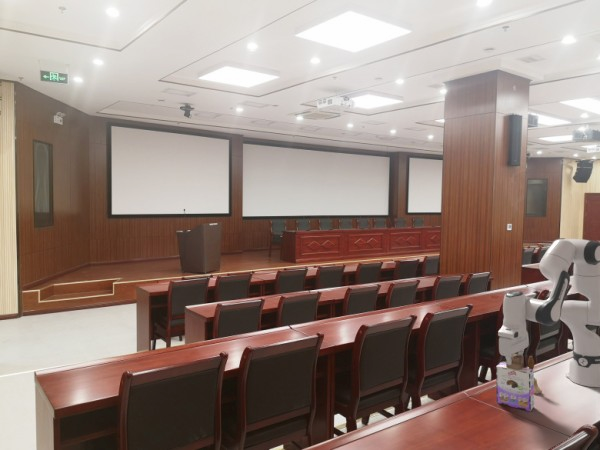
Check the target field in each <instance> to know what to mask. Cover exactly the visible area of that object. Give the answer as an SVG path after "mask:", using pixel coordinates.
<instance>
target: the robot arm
mask: <svg viewBox="0 0 600 450" xmlns="http://www.w3.org/2000/svg"><path fill="white" fill-rule="evenodd" d="M572 263H573V273H572V274H573V275H572V276H573V289H574V291H576V292H577V293H578V294H580V295H582V296H584V297H585V298H587V299H588V301H586V300H576V299H575V300H574V299H572V300H571V299H570V300H566V299H565V298H566V295H567V292H568V289H569V287H570V282H571V276H570V273H569V272H568V271H569V268H570V267H571V265H572ZM538 268H539V271H540V273H541V275H543V276H544V277H545V278H546V279H547V280H548V281H550V282H552V283H553V286H552V289H551V292H550V294H549V296H548V298H547V299H545V300H543V299H538V298H534V297H530V296H527V294H525V293H524V292H523V291H519V290H511V291H508V292H506V293H505V294H504V297H503V301H502V313H503V319H502V321H503V322H502V326H501V328H499V330H498V331H497V332H498V333H497V335H498V337H499V338H498V352H499V354H500V355H501V356H504V357H505V360H507V364H509V365H511V364H513V363H512V362H513V360H511V357H512V354H517V355H522V356H523V357H524V355H523V354H524V353H525V352H524V351H525V349H526V348H528V347H529V345H530V342H529V341H530V340H529V332H528V330H527V322H526V320H528V321H529V322H530V321H531V322H535V323H539V324H541V325H544V326H546V327H551V326H554V325H555V324H557V323H558V322H559V321H561V322H563V323H564V324H565V325H566V326H567V327H568V328H569V330H570V332H571V334H572V337H573V350H572V359H571V360H569V364H568V365H569V366H568V373H566V374H565V377H566V378H567V379H569V380H570V381H571V382H573V383H575V384H577V385H581V386H584V387H589V388H600V336H599V335H598V334H597V333H596V332H594V331H592V330H590V329H588V328H587V327H586V326H587V325H588V326H589V325H590V326H598V327H599V326H600V242H598V241H595V240H588V239H582V238H565V237H563V238H562V237H561V238H556V239H554V240H553V241H552V243H551V244H550V246H549V247H548V249H547V250H546V251H545V253H544V254H543V256H542V257H541V260H540V261H539V263H538Z"/></svg>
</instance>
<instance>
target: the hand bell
mask: <svg viewBox="0 0 600 450" xmlns="http://www.w3.org/2000/svg"><path fill="white" fill-rule="evenodd" d="M527 365H528V369H533V370H534V367H535V360H534V357H533V356H532V355H529V356H528V360H527ZM541 393H542V389H541V388H540V387H539V385H538V380H537V378H536V377H534V395H535V394H541Z"/></svg>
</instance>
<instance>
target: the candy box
mask: <svg viewBox="0 0 600 450" xmlns="http://www.w3.org/2000/svg"><path fill="white" fill-rule="evenodd" d="M495 371H496V373H495V375H496V377H495V379H496V382H495V383H496V384H495V386H496V403H497V404H500V405H505V406H509V407H512V408H516V409H519V410H523V411H527V412H531V411H532V410H533V409H534V408H535V394H534V378H535V377H534V368H533V369H529V367H528V368H527V367H523V368H522V369H520V370H515V369H511V368H507V367H506V364H504V363H500V362H499V363H498V364H497V365H496V366H495Z"/></svg>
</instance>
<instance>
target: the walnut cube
mask: <svg viewBox="0 0 600 450" xmlns="http://www.w3.org/2000/svg"><path fill="white" fill-rule="evenodd" d="M517 354H518V353H514V354H512V357H511V360H513V362H512V363H513V364H511V365H509V364H507V360H506V359H505V360H506V361H505V362H506V367H507V368H511V369H515V370H520V369H522V368H525V367H524V366H525V364H524V355H523V356H522V355H517Z"/></svg>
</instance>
